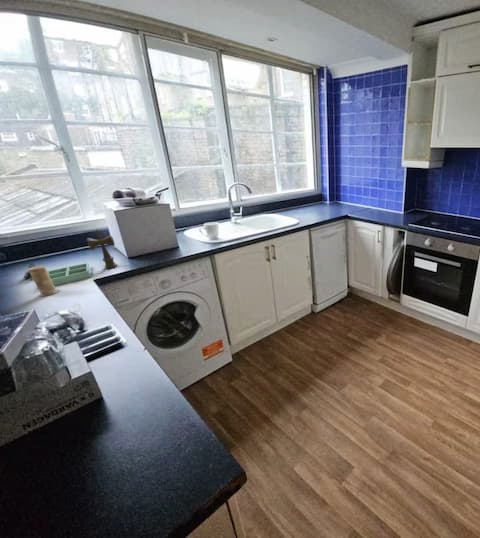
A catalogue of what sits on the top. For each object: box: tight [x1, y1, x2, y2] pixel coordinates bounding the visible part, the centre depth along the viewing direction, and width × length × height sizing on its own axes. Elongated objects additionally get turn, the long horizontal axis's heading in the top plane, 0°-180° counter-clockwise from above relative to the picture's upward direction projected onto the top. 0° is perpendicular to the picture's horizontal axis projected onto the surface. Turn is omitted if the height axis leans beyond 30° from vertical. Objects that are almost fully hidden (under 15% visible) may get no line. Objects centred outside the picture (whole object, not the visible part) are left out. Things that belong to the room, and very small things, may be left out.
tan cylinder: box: [27, 265, 58, 297], centre depth 123 cm, size 5×5×12 cm
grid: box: [47, 262, 92, 287], centre depth 140 cm, size 15×15×3 cm
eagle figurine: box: [23, 262, 36, 279], centre depth 140 cm, size 8×7×9 cm
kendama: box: [86, 229, 118, 269], centre depth 147 cm, size 6×10×20 cm, turn 127°
